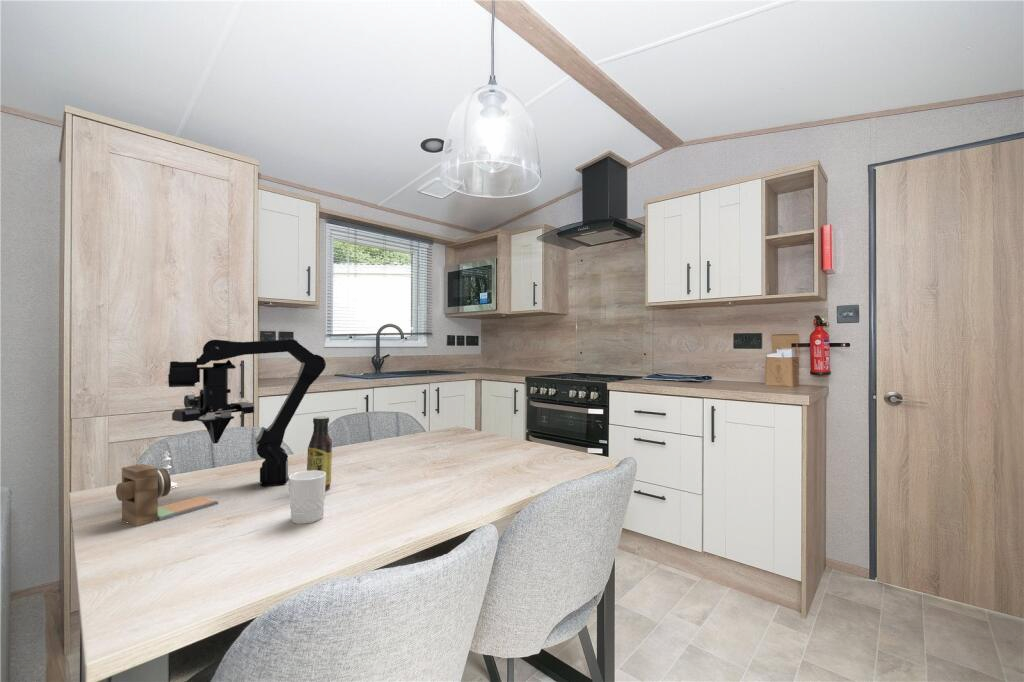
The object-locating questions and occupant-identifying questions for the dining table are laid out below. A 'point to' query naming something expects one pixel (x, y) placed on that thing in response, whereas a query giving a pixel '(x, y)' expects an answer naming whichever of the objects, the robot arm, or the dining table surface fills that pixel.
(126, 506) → the block
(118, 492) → the peg
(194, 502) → the board
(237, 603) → the dining table surface
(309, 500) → the white cup
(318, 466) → the sauce bottle
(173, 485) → the chess piece
